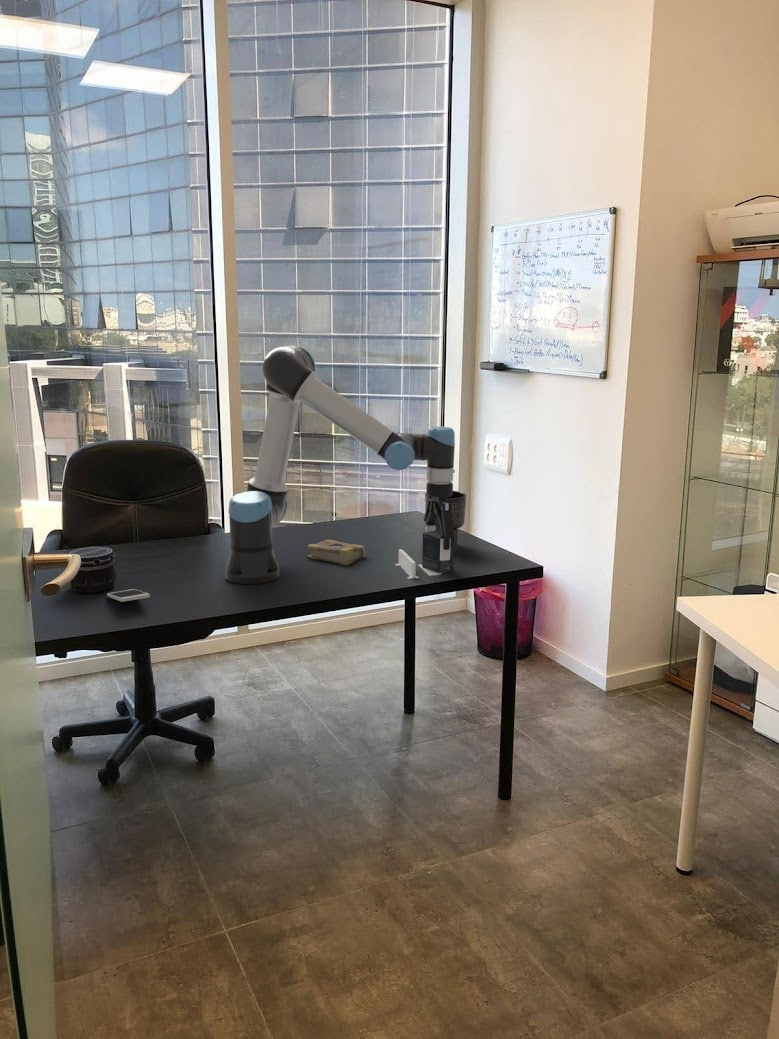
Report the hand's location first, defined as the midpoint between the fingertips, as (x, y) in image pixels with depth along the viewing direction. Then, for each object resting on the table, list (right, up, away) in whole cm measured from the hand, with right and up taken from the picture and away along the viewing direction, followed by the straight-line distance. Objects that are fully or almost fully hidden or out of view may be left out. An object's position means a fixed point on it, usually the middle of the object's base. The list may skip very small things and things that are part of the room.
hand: (437, 553), depth 250 cm
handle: (-9, -5, -1) cm, 10 cm away
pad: (0, -5, +1) cm, 5 cm away
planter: (+4, 0, +23) cm, 23 cm away
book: (-30, -2, +13) cm, 33 cm away
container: (-95, -9, -16) cm, 96 cm away
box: (0, -5, +1) cm, 5 cm away
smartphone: (-77, -12, -34) cm, 85 cm away
